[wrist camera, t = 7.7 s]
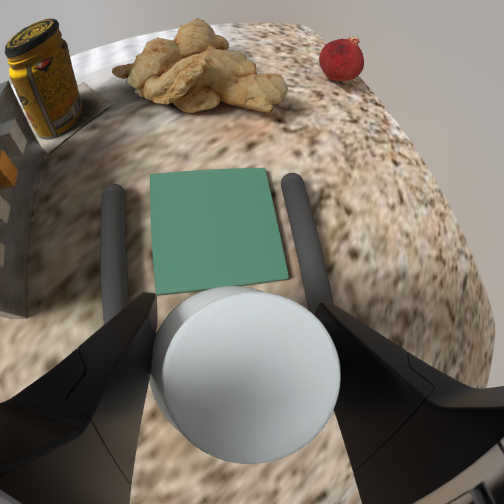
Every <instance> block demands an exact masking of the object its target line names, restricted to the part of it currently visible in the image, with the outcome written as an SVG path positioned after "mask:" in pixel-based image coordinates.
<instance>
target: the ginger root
mask: <svg viewBox="0 0 504 504" xmlns="http://www.w3.org/2000/svg"><path fill="white" fill-rule="evenodd" d="M228 48H229V43H228V41H227V40H226V39H225V38H224V37H222V36H220V35H215V33H214V31H213V29H212V28H211V27H210V26H209V25H208V24H207V23H206V22H205V21H204V20H201V19H198V18H197V19H195V20H193V21H191V22H189V23H187V24H186V25H183V26H182V25H181V26H180V28H179V30H178V33H177V35H176V37H175V38H174V40H173V41H172V40H166V39H163V38H161V39H159V38H156V39H154V40H151V41H150V42H147V43H146V46H145V48H144V50H143V52H142V53H141V54H139V55H137V56H136V59H135V62H134V63H132V64H127V65H121V66H117V67H115V68H113V70H112V73H113V74H114V75H115V76H117V77H119V78H122V79H125V78H127V80H126V81H127V83H128V84H130V85H131V86H132V87H134V88H136V90H135V92H134V93H137V94H138V95H139V96H140V97H143V98H146V99H147V100H150V101H153V102H154V103H162V104H166V105H167V104H169V103H172V102H173V104H174V105H175V106H177V107H178V108H179V109H180V110H182V111H184V112H188V113H195V112H197V111H201V110H207V109H212V108H214V107H216V106H217V105H218V104H219V103H220V101H223V102H225V103H227V104H230V105H234V106H239V107H242V108H248V109H253V110H257V111H263V112H268V113H269V112H271V111H272V110H273V106H272V105H274V104H279V103H281V102H282V100H283V98H285V96H286V94H287V91H288V87H287V85H286V83H285V82H284V78H283V77H282V76H281V75H277V74H270V73H269V74H257V73H256V64H255V63H254V62H252V61H249V60H247V59H246V56H245V54H243V53H241V52H239V51H228V50H227V49H228Z"/></svg>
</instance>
